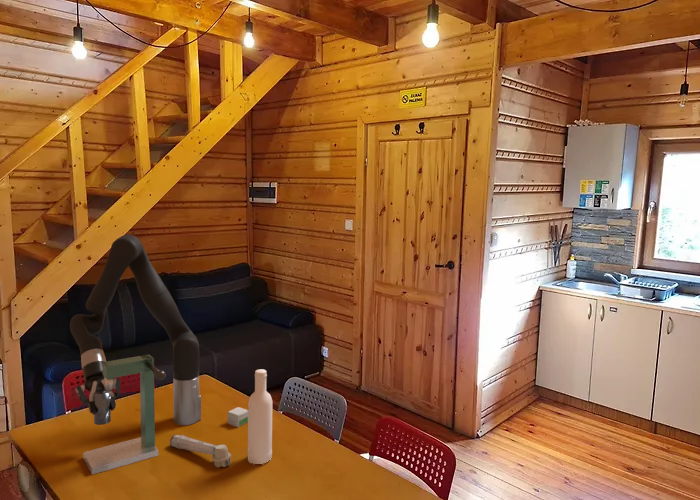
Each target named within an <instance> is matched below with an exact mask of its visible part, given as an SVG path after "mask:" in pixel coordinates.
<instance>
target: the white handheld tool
mask: <svg viewBox="0 0 700 500" xmlns="http://www.w3.org/2000/svg"><path fill="white" fill-rule="evenodd" d="M169 445H170V446H171V447H172V448H176V449H179V450H186V451H191V452H196V453H202V454H206V455H211V460H212V461H213V466H215V468H220V467H223V468H225V467H228V466H231V461H232V460H231V459H232V454H231V453H230V452H229V451H228V447H227V445H226V444H218V445H216V444H212V443H208V442H205V441H202V440H198V439H194V438H191V437H188V436H185V435H184V434H181V435H178V434H175V435H173V436H171V438H170V440H169Z"/></svg>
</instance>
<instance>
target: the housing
mask: <svg viewBox="0 0 700 500" xmlns="http://www.w3.org/2000/svg"><path fill="white" fill-rule="evenodd" d="M93 395H94V398H93V402H94V404H95V409H96V414H94V415H93V424H94V425H97V426H101V425H106V424H109V423H111V420H112V418H111V417H112V413H111V401H110V390H98V391H96V392H94V393H93Z"/></svg>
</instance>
